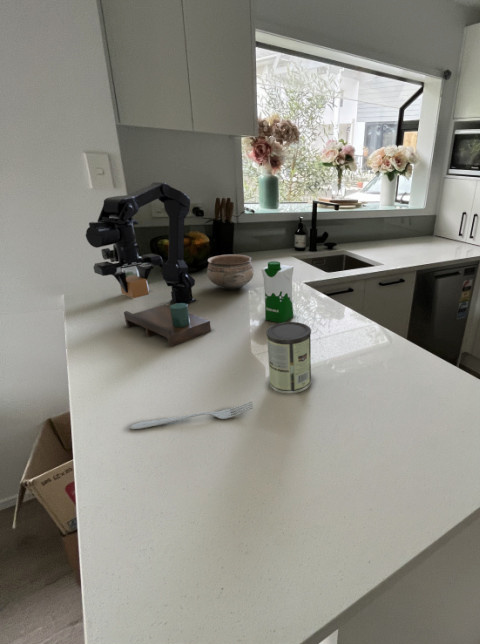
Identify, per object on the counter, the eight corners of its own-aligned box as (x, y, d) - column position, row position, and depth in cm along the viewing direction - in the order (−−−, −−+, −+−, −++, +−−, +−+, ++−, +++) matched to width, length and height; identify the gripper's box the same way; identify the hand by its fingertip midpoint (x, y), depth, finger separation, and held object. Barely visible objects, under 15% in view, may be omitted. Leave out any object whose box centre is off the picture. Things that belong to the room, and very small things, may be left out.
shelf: (166, 313, 131) (164, 300, 130) (211, 330, 119) (209, 316, 117) (126, 326, 121) (123, 311, 119) (171, 346, 108) (168, 330, 107)
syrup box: (149, 291, 153) (143, 256, 147) (141, 296, 147) (134, 259, 142) (136, 290, 153) (129, 255, 148) (127, 295, 148) (119, 258, 142)
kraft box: (137, 289, 124) (134, 275, 122) (148, 294, 121) (146, 279, 119) (121, 293, 120) (118, 278, 118) (133, 298, 117) (130, 282, 115)
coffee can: (281, 368, 99) (279, 319, 93) (317, 376, 96) (317, 325, 90) (261, 388, 90) (257, 335, 84) (300, 397, 87) (299, 342, 81)
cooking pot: (202, 282, 165) (198, 255, 160) (243, 277, 174) (241, 251, 170) (218, 299, 146) (215, 268, 141) (264, 292, 155) (263, 263, 150)
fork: (132, 422, 77) (130, 415, 76) (252, 406, 83) (252, 400, 82) (128, 432, 74) (126, 425, 74) (253, 415, 80) (253, 408, 79)
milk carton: (261, 320, 128) (258, 262, 120) (276, 311, 136) (274, 256, 128) (283, 325, 125) (281, 266, 117) (297, 316, 132) (296, 260, 124)
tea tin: (183, 319, 118) (180, 301, 116) (193, 323, 115) (191, 305, 113) (169, 324, 114) (166, 306, 112) (179, 328, 112) (176, 310, 109)
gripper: (140, 234, 125) (149, 279, 131) (79, 242, 111) (91, 292, 117) (159, 238, 119) (167, 285, 125) (97, 247, 105) (109, 300, 111)
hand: (134, 290), depth 120 cm, fingers closed on kraft box, 5 cm apart
